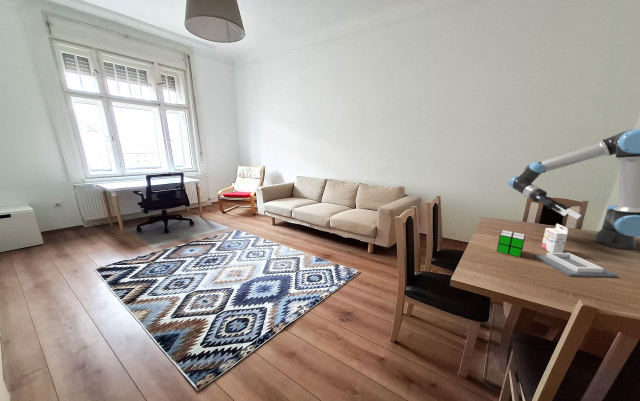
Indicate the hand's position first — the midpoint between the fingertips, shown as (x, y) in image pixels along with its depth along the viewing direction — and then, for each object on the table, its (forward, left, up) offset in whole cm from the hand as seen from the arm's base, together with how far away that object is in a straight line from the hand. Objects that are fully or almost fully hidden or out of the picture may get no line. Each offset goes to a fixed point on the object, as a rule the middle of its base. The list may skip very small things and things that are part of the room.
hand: (573, 215), depth 121 cm
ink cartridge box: (+8, +1, -20) cm, 21 cm away
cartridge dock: (+14, +18, -20) cm, 30 cm away
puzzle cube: (+32, +3, -20) cm, 38 cm away
